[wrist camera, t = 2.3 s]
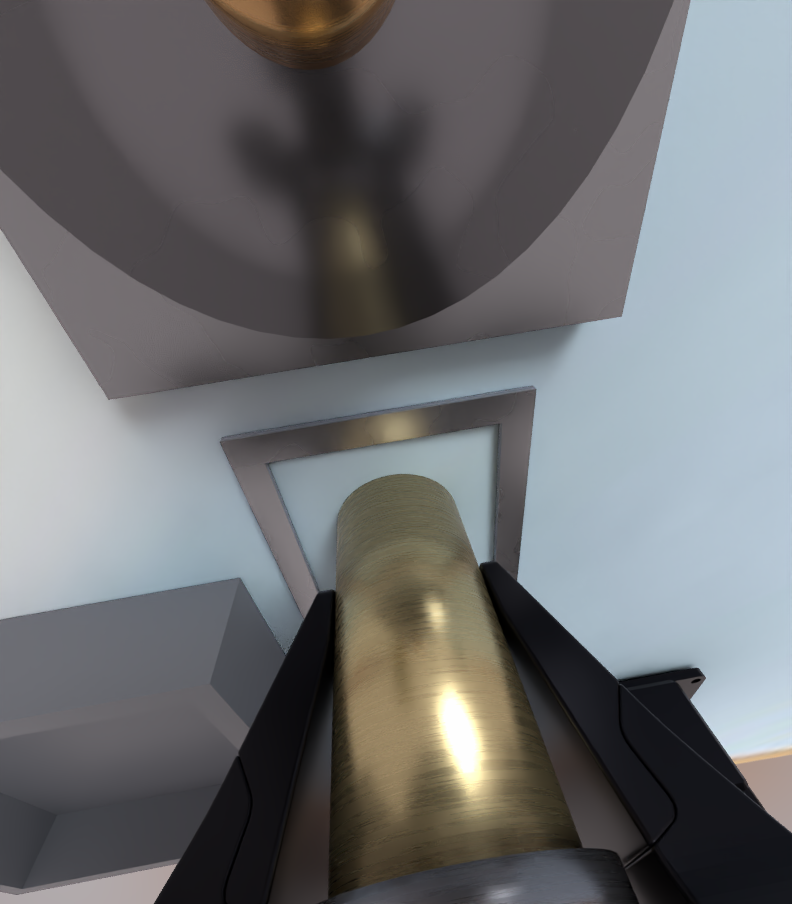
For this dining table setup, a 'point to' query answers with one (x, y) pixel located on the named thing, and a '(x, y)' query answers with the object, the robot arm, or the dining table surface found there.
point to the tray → (123, 728)
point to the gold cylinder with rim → (438, 727)
